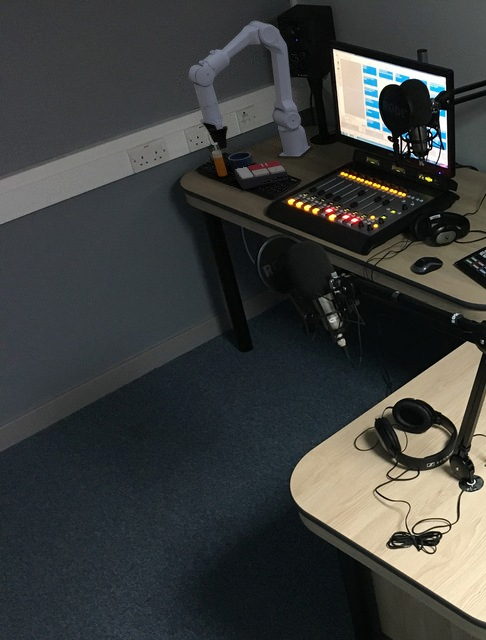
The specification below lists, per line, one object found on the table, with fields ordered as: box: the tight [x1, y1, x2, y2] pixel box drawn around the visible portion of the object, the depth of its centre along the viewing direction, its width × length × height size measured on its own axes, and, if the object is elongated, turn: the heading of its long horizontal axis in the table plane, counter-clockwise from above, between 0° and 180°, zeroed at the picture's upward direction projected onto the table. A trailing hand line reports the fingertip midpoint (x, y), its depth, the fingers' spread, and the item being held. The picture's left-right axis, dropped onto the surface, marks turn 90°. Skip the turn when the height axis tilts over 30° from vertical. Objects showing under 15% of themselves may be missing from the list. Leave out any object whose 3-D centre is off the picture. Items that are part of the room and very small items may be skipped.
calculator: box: [233, 160, 289, 190], centre depth 278 cm, size 11×4×15 cm
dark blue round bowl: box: [227, 151, 255, 171], centre depth 289 cm, size 8×8×4 cm
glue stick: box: [211, 149, 228, 177], centre depth 282 cm, size 3×3×8 cm
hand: (220, 145), depth 279 cm, fingers open, 7 cm apart
